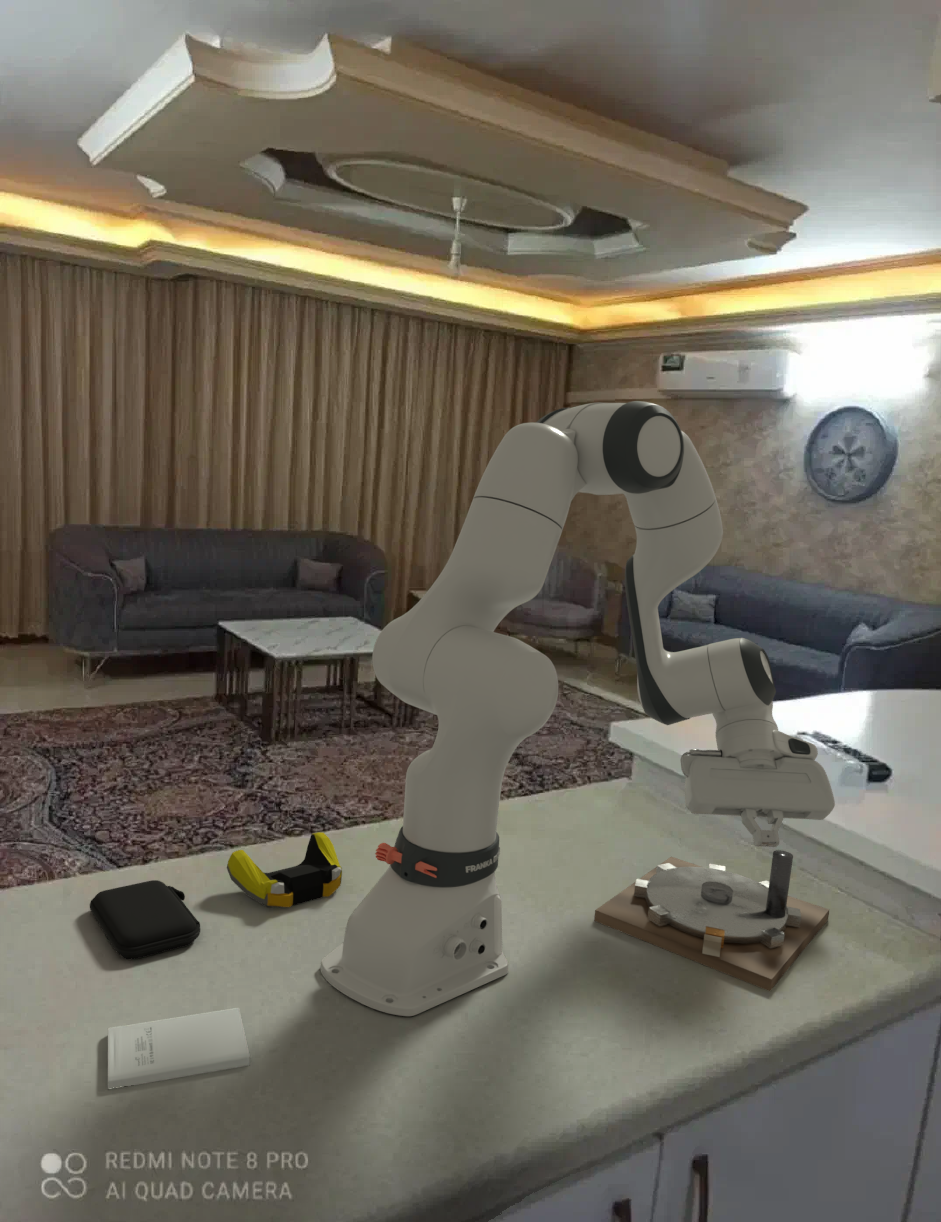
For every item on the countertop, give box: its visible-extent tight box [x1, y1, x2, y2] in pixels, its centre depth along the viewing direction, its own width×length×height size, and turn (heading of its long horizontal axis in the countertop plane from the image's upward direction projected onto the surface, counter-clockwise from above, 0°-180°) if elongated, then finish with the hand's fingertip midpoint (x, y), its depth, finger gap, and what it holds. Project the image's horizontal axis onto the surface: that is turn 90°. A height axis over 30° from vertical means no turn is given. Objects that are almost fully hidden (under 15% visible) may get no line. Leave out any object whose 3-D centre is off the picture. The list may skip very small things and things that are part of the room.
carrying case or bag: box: [89, 879, 201, 960], centre depth 109 cm, size 11×3×15 cm
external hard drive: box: [107, 1007, 251, 1090], centre depth 87 cm, size 2×8×12 cm
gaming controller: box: [226, 831, 343, 908], centre depth 120 cm, size 15×6×10 cm
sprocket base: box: [593, 856, 830, 992], centre depth 120 cm, size 23×23×3 cm
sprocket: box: [634, 849, 801, 948], centre depth 119 cm, size 20×20×10 cm
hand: (767, 845), depth 122 cm, fingers closed
